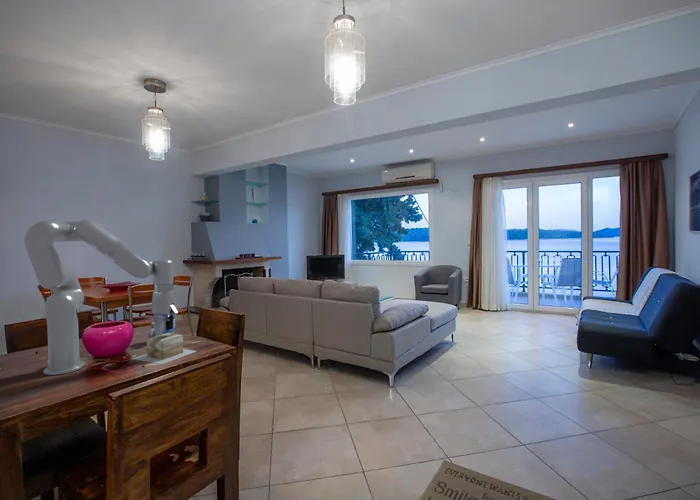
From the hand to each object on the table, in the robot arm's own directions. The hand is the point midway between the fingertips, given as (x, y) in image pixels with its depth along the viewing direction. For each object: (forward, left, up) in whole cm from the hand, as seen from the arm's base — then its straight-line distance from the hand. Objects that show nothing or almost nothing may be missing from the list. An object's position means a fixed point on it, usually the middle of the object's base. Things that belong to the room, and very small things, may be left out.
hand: (164, 328), depth 152 cm
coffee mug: (-23, +15, -13) cm, 30 cm away
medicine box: (0, 0, -2) cm, 2 cm away
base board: (0, 0, -13) cm, 13 cm away
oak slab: (0, 0, -12) cm, 12 cm away
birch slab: (0, 0, -8) cm, 8 cm away
